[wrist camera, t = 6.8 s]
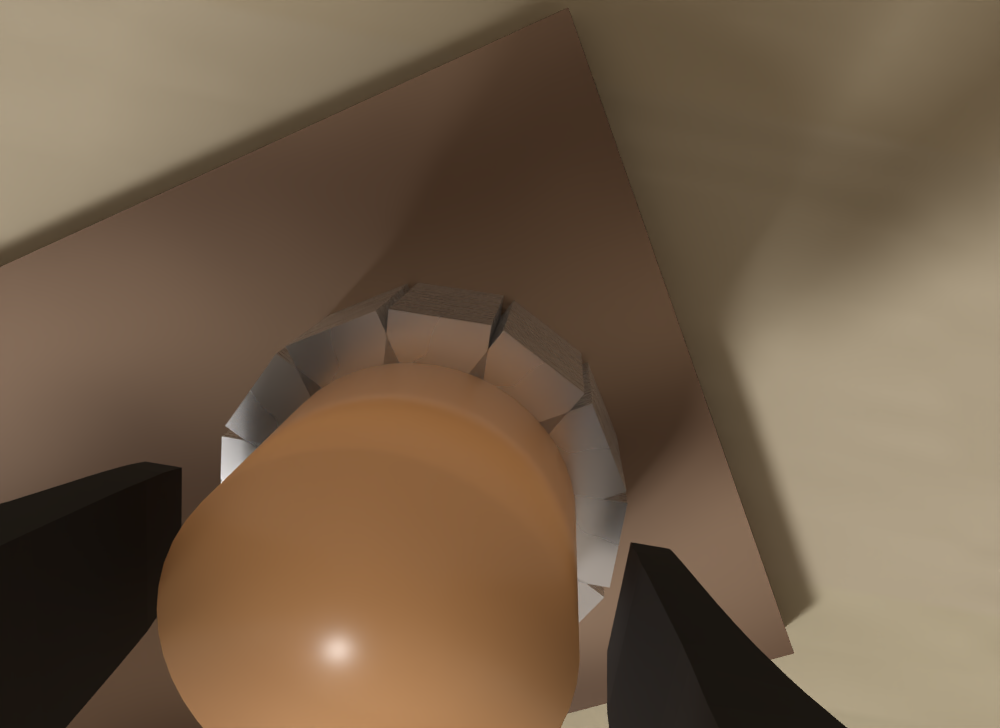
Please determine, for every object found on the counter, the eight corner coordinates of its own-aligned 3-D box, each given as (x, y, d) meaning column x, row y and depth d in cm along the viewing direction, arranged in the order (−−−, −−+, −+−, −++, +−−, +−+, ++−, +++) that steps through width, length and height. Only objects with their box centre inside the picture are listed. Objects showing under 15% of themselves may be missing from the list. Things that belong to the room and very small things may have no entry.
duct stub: (660, 548, 15) (677, 621, 13) (360, 639, 17) (326, 721, 14) (537, 231, 14) (531, 248, 11) (215, 360, 15) (149, 399, 13)
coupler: (596, 352, 14) (617, 490, 9) (550, 595, 16) (542, 847, 10) (318, 307, 14) (156, 412, 9) (301, 551, 16) (156, 774, 10)
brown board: (783, 629, 17) (794, 653, 16) (74, 823, 20) (55, 849, 20) (568, 15, 13) (567, 8, 13) (-231, 378, 17) (-267, 388, 16)
